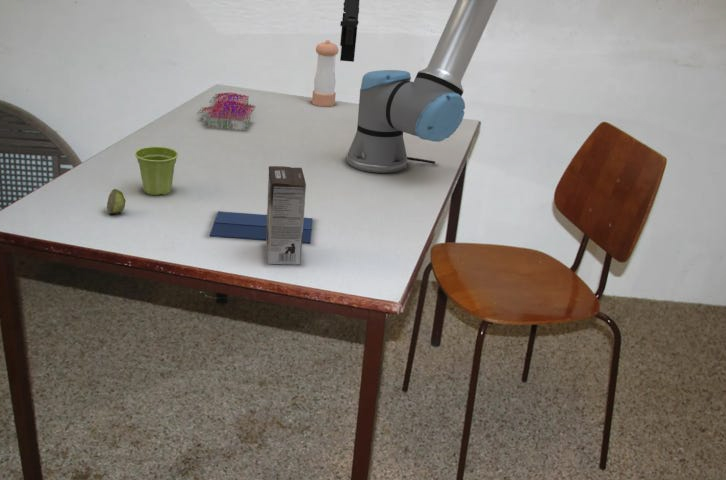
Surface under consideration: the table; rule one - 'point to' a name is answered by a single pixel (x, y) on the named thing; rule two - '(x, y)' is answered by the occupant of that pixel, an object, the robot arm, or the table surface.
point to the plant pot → (156, 168)
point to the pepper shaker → (325, 75)
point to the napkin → (249, 226)
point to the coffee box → (285, 214)
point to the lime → (115, 202)
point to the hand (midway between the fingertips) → (346, 53)
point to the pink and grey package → (227, 110)
